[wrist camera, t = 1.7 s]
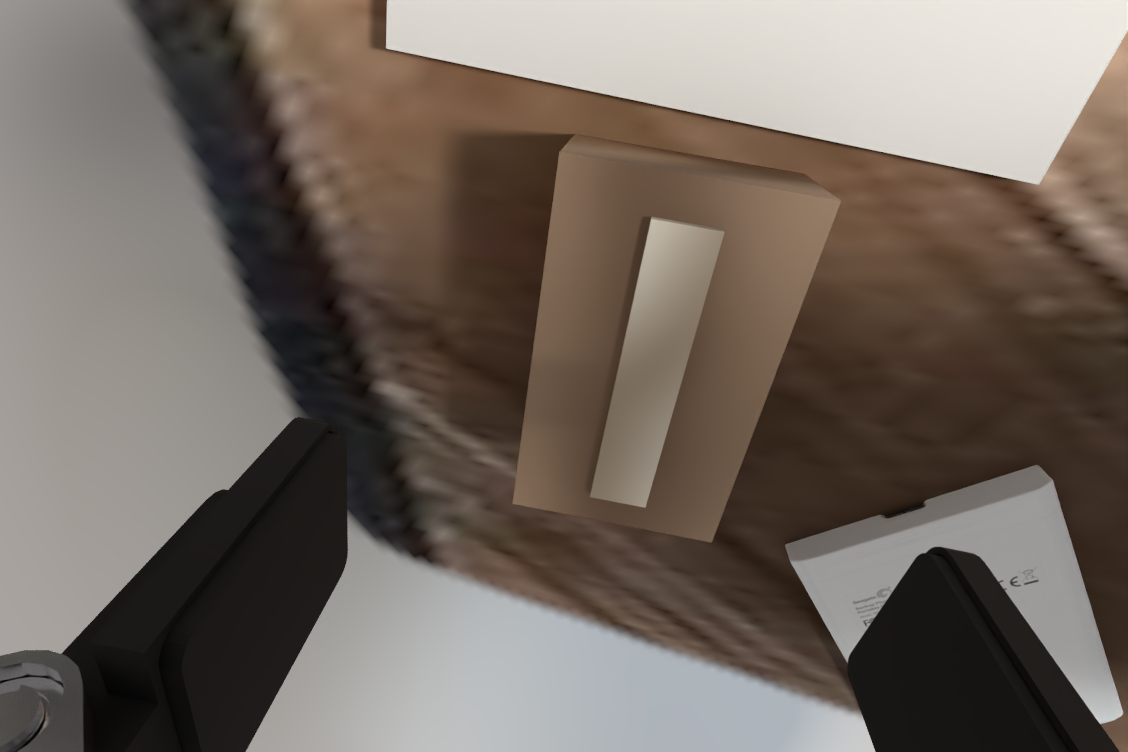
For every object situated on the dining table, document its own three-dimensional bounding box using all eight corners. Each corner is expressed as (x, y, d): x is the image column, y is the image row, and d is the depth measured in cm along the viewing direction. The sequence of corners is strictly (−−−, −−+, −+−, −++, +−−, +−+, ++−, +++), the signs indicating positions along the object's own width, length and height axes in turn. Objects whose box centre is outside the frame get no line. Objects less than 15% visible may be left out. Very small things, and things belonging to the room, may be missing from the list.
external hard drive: (886, 721, 26) (780, 533, 21) (1099, 678, 23) (1029, 453, 18) (900, 759, 24) (790, 568, 20) (1129, 719, 22) (1062, 486, 17)
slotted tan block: (801, 172, 15) (843, 203, 12) (701, 468, 20) (712, 547, 17) (576, 133, 15) (558, 153, 12) (532, 436, 20) (511, 508, 17)
